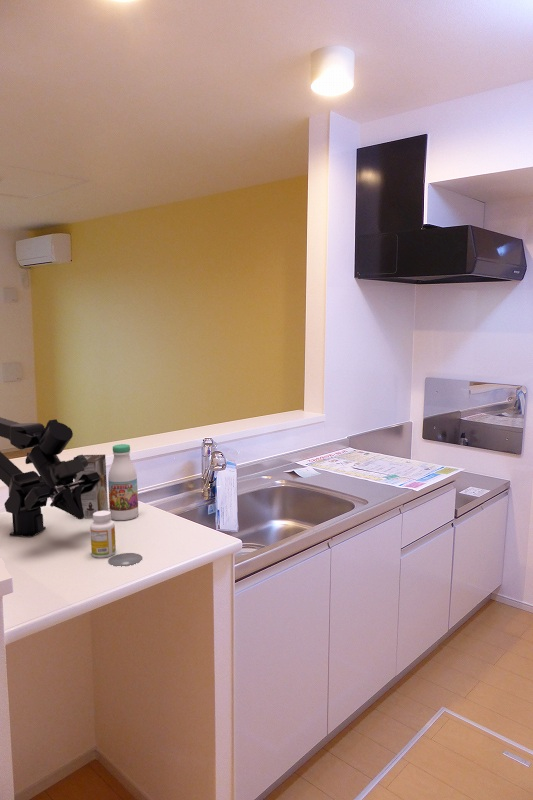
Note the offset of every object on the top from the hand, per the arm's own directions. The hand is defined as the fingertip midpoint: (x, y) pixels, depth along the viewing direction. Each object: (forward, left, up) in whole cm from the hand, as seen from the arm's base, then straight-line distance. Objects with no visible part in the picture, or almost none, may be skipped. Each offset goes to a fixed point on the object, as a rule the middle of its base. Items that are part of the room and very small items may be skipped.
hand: (82, 518), depth 138 cm
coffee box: (-11, +25, -8) cm, 28 cm away
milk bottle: (-1, +24, -8) cm, 25 cm away
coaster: (+13, -5, -7) cm, 16 cm away
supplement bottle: (+6, -2, -8) cm, 10 cm away
